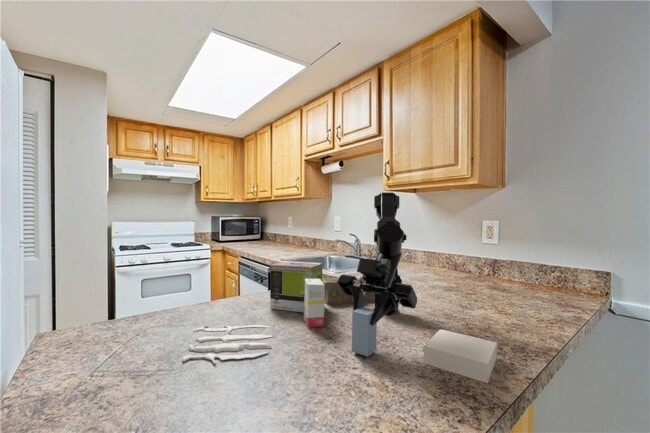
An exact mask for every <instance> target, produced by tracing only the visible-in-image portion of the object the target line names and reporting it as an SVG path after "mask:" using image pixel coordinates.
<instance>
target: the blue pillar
mask: <svg viewBox="0 0 650 433" xmlns="http://www.w3.org/2000/svg"><path fill="white" fill-rule="evenodd" d="M373 309H374V308H373ZM373 309H372V308H368V307H365V306H364V307H360V308H358V309H356V310H354V311H353V310H352V312H351V313H352V314H351V315H352V316H351V317H352V319H351V322H352V323H351V352H353V353H355V354H359V355H362V356H364V357H367V358H368V357H369V356H371V355H372V354H373V353H375V352H376V351H377V334H378V333H377V330H378V329H377V328H378V327H377V325H378V324H377V323H378V322H377V323H376V324H374V325H373V326H371V324H370V321H371V318H372V315H373V313H374V310H373Z"/></svg>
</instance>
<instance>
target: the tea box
mask: <svg viewBox="0 0 650 433" xmlns="http://www.w3.org/2000/svg"><path fill="white" fill-rule="evenodd" d="M269 274H270V281H269V282H270V285H269V286H270V287H269V288H270V290H269V291H270V293H269V296H270V298H269V300H270V301H269V302H270V303H269V304H270V305H269V307H270V309H272V310H278V311H279V310H280V311H287V312H297V313H303V314H304V296H305V279H321V281H322V278H323V263H322V262H312V261H311V262H310V261H308V262H307V261H291V260H283V261H279V262H276V263H273V264H270V273H269Z"/></svg>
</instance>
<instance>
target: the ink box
mask: <svg viewBox="0 0 650 433" xmlns="http://www.w3.org/2000/svg"><path fill="white" fill-rule="evenodd" d="M324 293H325V285H324V284H323V282H322V281H321V279H305V296H304V313H303V319H304V322H305V324H306V327H307V328H319V327H320V328H323V327H325V301H324Z"/></svg>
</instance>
